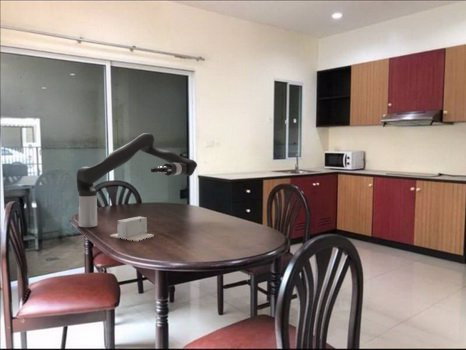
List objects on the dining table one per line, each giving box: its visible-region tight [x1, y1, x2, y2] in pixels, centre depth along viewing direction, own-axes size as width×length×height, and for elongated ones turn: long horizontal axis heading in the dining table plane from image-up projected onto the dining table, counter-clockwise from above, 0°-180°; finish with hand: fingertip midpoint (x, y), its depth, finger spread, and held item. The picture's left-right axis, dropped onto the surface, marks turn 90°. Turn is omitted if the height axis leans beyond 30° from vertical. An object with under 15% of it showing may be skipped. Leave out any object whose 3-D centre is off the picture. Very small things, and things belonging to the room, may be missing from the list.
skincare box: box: [116, 215, 148, 238], centre depth 189 cm, size 8×6×15 cm
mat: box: [109, 232, 155, 242], centre depth 189 cm, size 18×12×1 cm, turn 61°
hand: (151, 170), depth 210 cm, fingers closed
